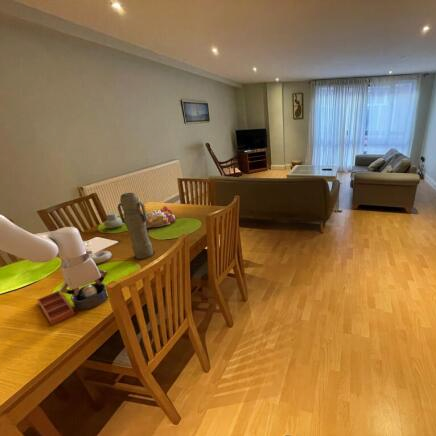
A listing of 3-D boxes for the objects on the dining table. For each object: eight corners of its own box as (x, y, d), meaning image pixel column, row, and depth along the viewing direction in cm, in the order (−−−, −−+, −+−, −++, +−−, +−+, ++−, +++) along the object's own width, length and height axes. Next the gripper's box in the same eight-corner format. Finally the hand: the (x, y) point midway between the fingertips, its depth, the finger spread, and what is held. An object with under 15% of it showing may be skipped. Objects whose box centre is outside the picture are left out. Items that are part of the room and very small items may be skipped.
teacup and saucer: (88, 243, 145) (85, 237, 143) (97, 245, 142) (95, 239, 141) (71, 250, 137) (69, 244, 136) (81, 252, 135) (78, 246, 133)
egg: (87, 304, 96) (82, 291, 94) (84, 300, 98) (79, 287, 96) (100, 298, 99) (96, 285, 97) (96, 294, 102) (92, 281, 99)
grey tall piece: (155, 257, 130) (139, 195, 117) (130, 260, 127) (110, 197, 113) (158, 249, 138) (143, 190, 124) (134, 252, 134) (116, 192, 121)
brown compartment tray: (51, 325, 87) (49, 321, 86) (39, 303, 97) (36, 299, 96) (75, 314, 92) (73, 309, 91) (60, 294, 102) (58, 290, 102)
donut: (98, 255, 132) (84, 265, 123) (96, 249, 131) (82, 259, 122) (116, 254, 133) (104, 264, 123) (114, 249, 131) (102, 258, 122)
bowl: (80, 314, 92) (76, 305, 90) (71, 302, 98) (67, 293, 96) (113, 298, 100) (110, 289, 98) (103, 288, 106) (100, 279, 104)
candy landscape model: (178, 224, 171) (175, 212, 167) (140, 231, 159) (136, 219, 156) (173, 213, 190) (171, 202, 187) (139, 219, 179) (136, 208, 175)
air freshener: (126, 225, 169) (122, 212, 165) (115, 230, 162) (111, 216, 158) (114, 223, 172) (110, 210, 168) (103, 228, 165) (99, 214, 161)
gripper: (98, 246, 100) (111, 282, 107) (42, 265, 87) (61, 304, 94) (105, 252, 96) (118, 288, 103) (47, 273, 83) (67, 313, 90)
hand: (90, 296), depth 98 cm, fingers open, 5 cm apart
